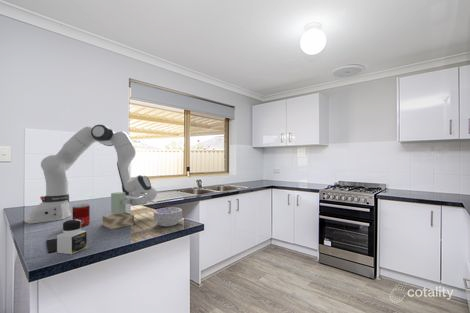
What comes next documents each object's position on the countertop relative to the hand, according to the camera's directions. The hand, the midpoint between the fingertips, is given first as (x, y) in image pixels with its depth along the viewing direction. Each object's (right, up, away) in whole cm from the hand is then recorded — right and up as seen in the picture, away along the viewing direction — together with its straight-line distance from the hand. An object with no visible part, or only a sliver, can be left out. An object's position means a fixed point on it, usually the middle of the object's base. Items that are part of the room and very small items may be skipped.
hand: (117, 202), depth 130 cm
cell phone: (-10, -13, -29) cm, 33 cm away
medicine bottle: (0, -13, -35) cm, 38 cm away
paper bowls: (+28, -13, +1) cm, 31 cm away
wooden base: (0, -13, +1) cm, 13 cm away
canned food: (-20, -13, +1) cm, 24 cm away
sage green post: (0, -6, +1) cm, 6 cm away
